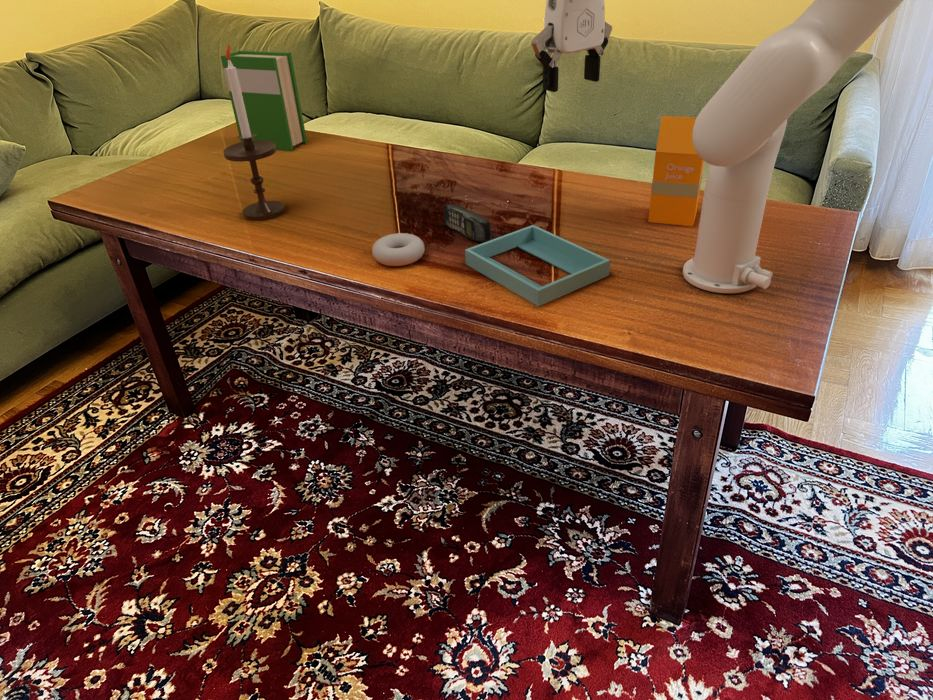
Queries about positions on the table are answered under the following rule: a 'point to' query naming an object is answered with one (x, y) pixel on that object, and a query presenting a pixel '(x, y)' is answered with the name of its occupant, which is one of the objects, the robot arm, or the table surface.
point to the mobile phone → (467, 223)
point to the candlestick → (250, 153)
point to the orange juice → (676, 174)
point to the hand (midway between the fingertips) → (571, 85)
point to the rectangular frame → (547, 248)
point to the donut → (398, 249)
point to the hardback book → (268, 96)
